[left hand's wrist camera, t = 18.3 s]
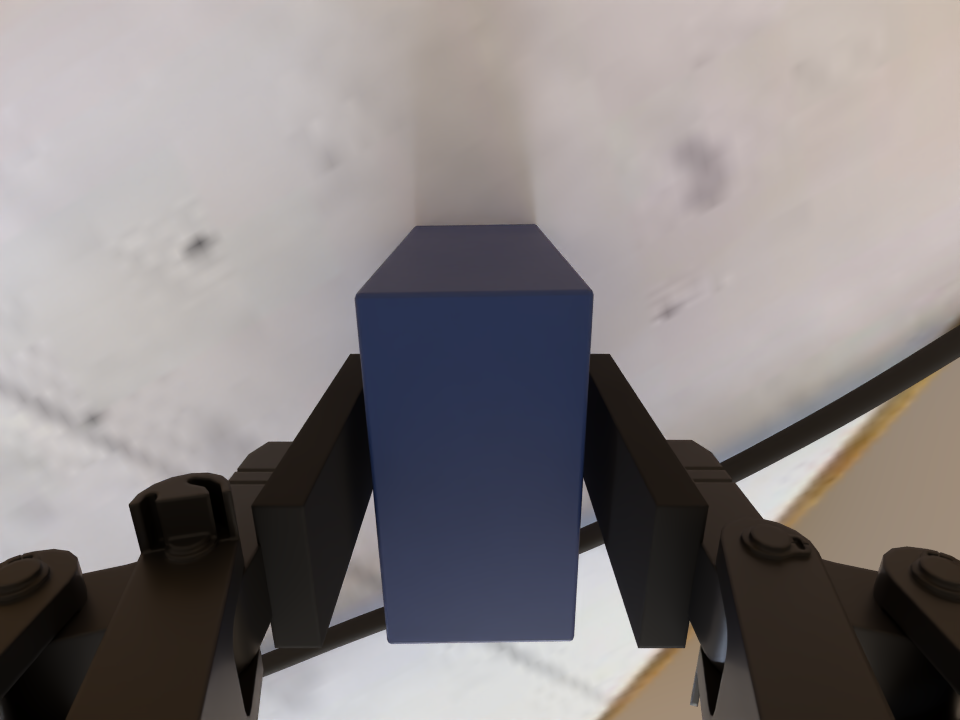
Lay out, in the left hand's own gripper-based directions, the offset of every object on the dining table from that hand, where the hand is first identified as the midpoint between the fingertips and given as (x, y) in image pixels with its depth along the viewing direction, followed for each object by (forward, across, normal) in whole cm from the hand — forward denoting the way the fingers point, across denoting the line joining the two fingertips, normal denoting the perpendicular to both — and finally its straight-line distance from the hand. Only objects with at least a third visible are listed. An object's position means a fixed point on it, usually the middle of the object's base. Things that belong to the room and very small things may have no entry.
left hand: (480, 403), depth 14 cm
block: (+5, 0, 0) cm, 5 cm away
